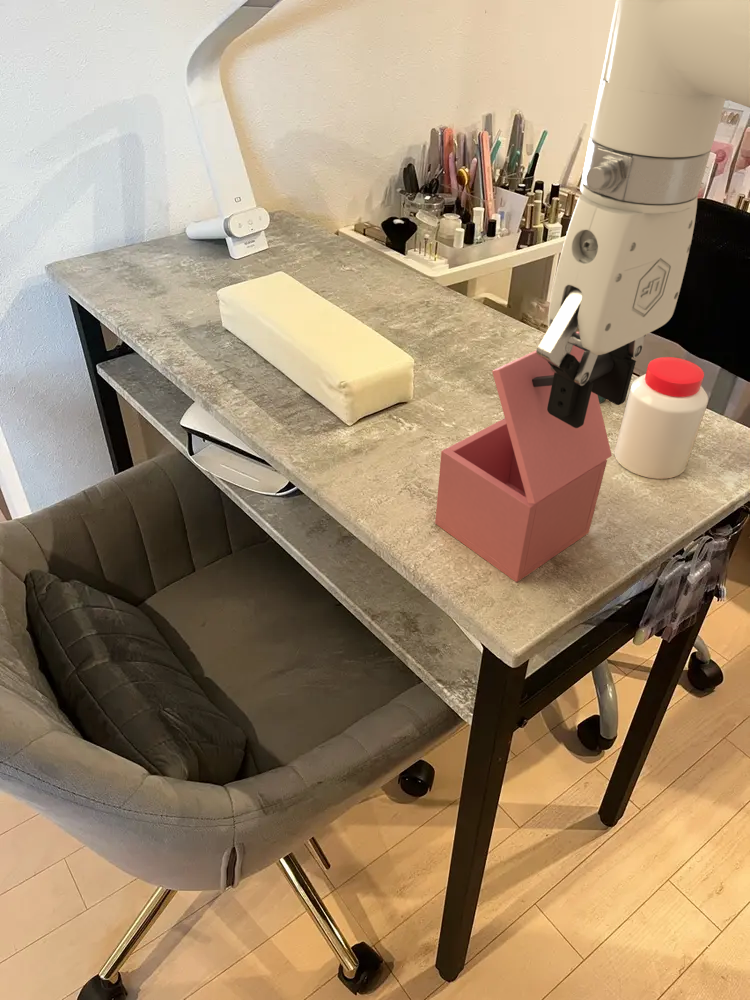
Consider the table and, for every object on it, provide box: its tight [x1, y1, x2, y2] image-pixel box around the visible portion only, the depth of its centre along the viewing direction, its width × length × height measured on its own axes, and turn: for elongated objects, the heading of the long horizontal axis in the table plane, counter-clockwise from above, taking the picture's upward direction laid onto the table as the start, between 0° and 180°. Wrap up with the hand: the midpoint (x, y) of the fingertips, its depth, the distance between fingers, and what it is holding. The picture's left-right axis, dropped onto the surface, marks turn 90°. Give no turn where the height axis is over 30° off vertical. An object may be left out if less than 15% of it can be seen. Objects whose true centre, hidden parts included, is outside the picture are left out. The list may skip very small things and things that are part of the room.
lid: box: [491, 331, 614, 504], centre depth 63 cm, size 12×11×6 cm
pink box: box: [434, 417, 608, 583], centre depth 72 cm, size 11×11×9 cm
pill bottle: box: [613, 356, 709, 480], centre depth 81 cm, size 8×8×11 cm
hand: (586, 406), depth 62 cm, fingers closed on lid, 4 cm apart
